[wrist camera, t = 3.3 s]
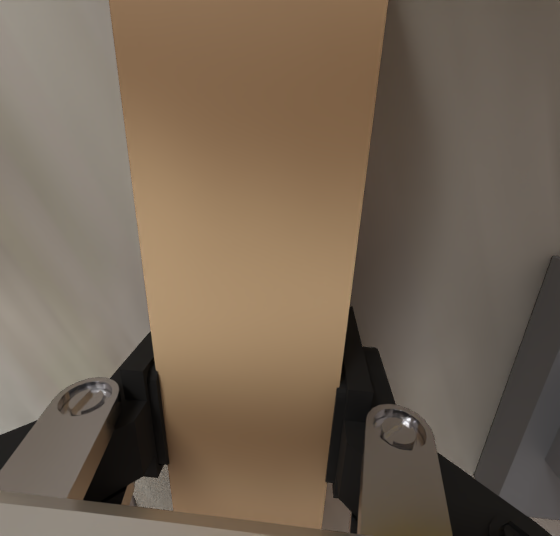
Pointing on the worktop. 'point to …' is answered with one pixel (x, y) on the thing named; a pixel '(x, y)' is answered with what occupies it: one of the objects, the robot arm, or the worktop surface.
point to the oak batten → (248, 232)
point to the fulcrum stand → (530, 416)
